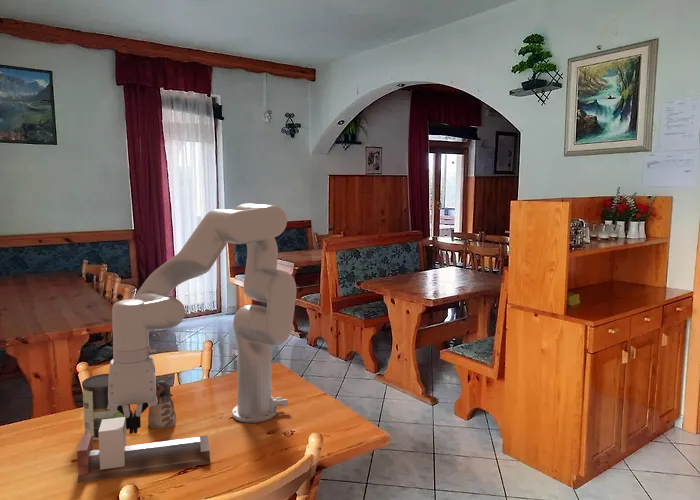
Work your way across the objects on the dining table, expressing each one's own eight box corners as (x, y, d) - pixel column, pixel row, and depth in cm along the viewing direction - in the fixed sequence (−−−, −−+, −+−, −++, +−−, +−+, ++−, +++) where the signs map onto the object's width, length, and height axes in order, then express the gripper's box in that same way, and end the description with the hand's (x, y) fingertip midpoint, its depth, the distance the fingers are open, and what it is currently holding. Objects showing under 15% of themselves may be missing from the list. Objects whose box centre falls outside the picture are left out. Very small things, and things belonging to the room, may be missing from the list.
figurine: (181, 419, 148) (180, 378, 146) (165, 430, 141) (164, 387, 139) (159, 415, 150) (158, 374, 148) (142, 426, 143) (141, 383, 142)
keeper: (126, 453, 126) (125, 416, 125) (124, 466, 120) (122, 428, 119) (103, 456, 124) (102, 419, 123) (100, 470, 118) (98, 431, 117)
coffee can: (135, 424, 144) (133, 374, 142) (110, 442, 134) (108, 389, 132) (101, 420, 146) (99, 371, 144) (75, 438, 136) (72, 385, 134)
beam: (199, 448, 129) (199, 436, 129) (200, 453, 127) (200, 441, 127) (91, 463, 122) (90, 450, 121) (89, 468, 120) (89, 455, 119)
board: (207, 445, 133) (207, 419, 132) (210, 463, 125) (209, 435, 124) (84, 462, 124) (83, 433, 124) (77, 482, 116) (76, 452, 115)
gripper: (166, 347, 126) (167, 420, 129) (97, 352, 122) (100, 428, 124) (166, 356, 119) (167, 434, 122) (93, 362, 115) (96, 443, 117)
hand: (133, 431), depth 123 cm, fingers closed
